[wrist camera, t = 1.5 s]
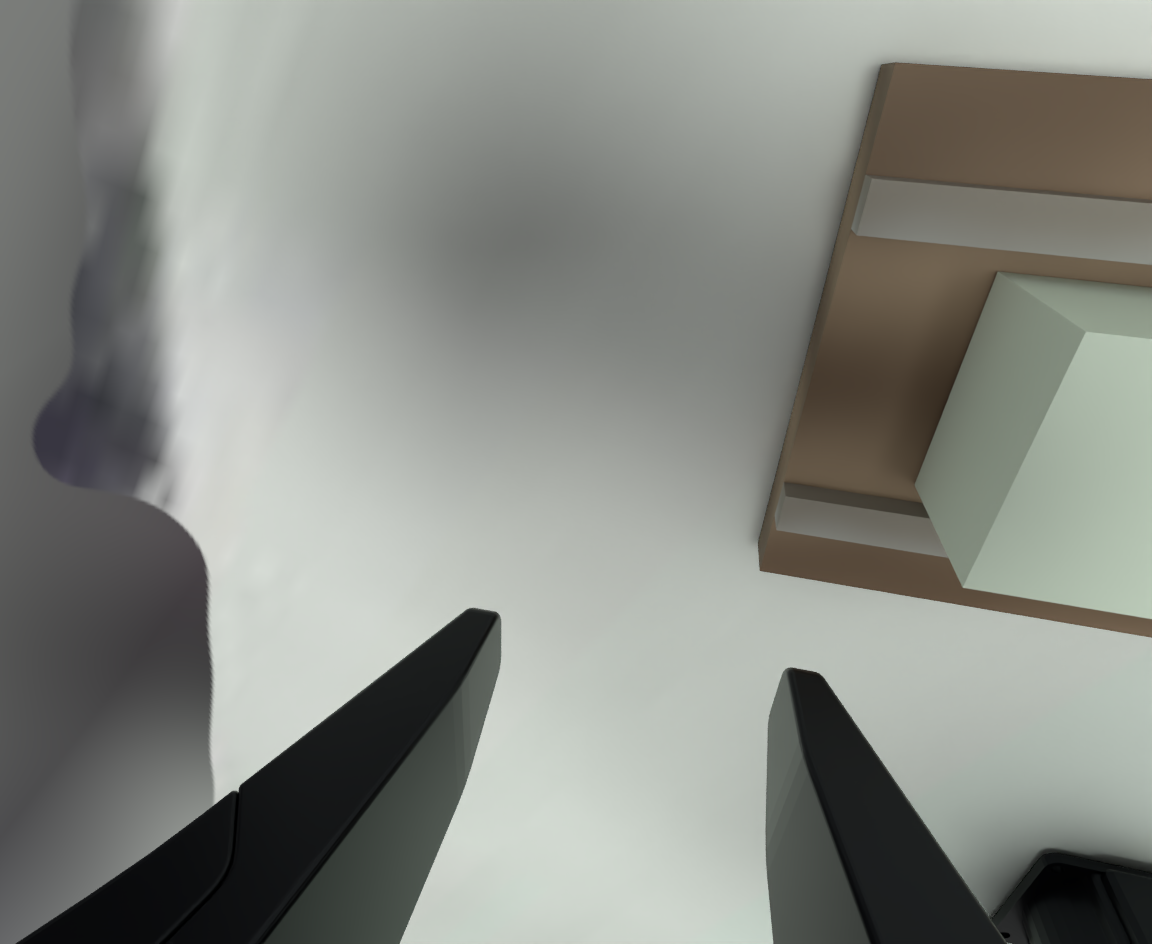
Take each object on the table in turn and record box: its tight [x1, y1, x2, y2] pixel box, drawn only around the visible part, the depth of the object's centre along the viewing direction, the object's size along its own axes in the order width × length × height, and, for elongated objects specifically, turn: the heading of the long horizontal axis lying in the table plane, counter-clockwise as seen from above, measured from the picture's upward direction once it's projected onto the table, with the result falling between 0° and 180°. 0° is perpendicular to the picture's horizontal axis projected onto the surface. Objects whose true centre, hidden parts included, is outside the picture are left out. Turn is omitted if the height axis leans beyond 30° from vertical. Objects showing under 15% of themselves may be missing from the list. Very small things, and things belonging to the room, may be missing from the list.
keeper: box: [915, 272, 1152, 619], centre depth 15 cm, size 6×6×4 cm
